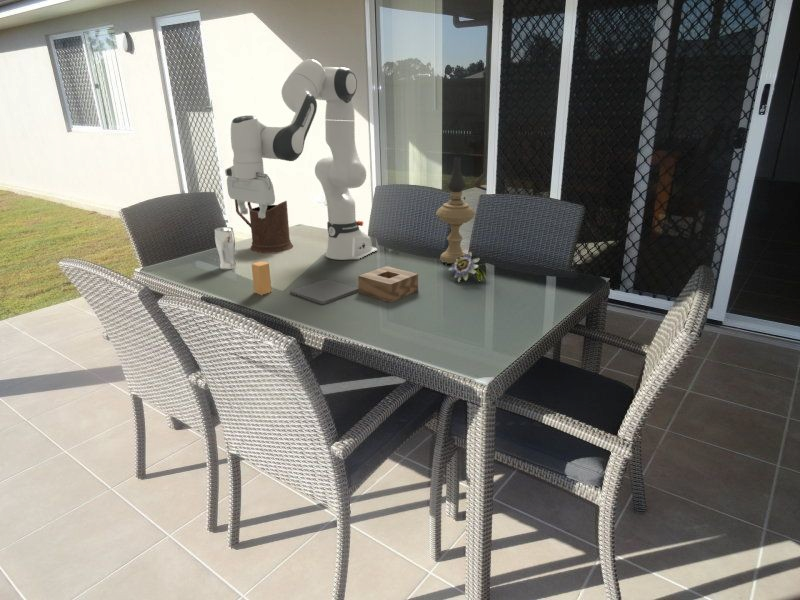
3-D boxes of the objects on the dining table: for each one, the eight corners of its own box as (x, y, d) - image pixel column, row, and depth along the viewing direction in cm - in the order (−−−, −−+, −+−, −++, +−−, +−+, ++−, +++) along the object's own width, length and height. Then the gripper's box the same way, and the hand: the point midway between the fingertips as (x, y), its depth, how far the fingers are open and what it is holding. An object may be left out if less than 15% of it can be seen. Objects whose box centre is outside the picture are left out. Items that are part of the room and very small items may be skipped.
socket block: (386, 282, 188) (386, 266, 185) (418, 291, 179) (418, 273, 177) (358, 292, 178) (358, 275, 175) (390, 302, 169) (390, 284, 167)
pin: (264, 289, 181) (261, 261, 177) (271, 292, 178) (269, 263, 175) (254, 292, 178) (251, 263, 175) (261, 295, 176) (258, 266, 172)
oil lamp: (479, 264, 208) (485, 158, 194) (445, 268, 203) (448, 160, 189) (461, 254, 221) (465, 154, 207) (428, 258, 216) (430, 156, 202)
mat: (326, 281, 188) (325, 279, 188) (358, 291, 179) (358, 288, 178) (290, 293, 177) (290, 290, 177) (323, 304, 167) (322, 301, 167)
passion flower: (459, 296, 190) (440, 268, 189) (474, 283, 198) (456, 255, 197) (481, 285, 182) (462, 255, 181) (496, 271, 189) (478, 243, 188)
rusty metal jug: (283, 254, 223) (278, 193, 214) (230, 251, 228) (223, 192, 219) (299, 243, 240) (295, 187, 231) (250, 240, 245) (244, 185, 236)
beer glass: (240, 265, 208) (236, 227, 203) (233, 270, 202) (229, 231, 196) (223, 264, 209) (218, 226, 204) (215, 269, 202) (210, 230, 197)
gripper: (278, 173, 161) (281, 218, 165) (239, 168, 173) (243, 210, 178) (260, 175, 156) (264, 222, 161) (221, 169, 169) (226, 213, 173)
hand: (253, 216), depth 170 cm, fingers open, 8 cm apart
